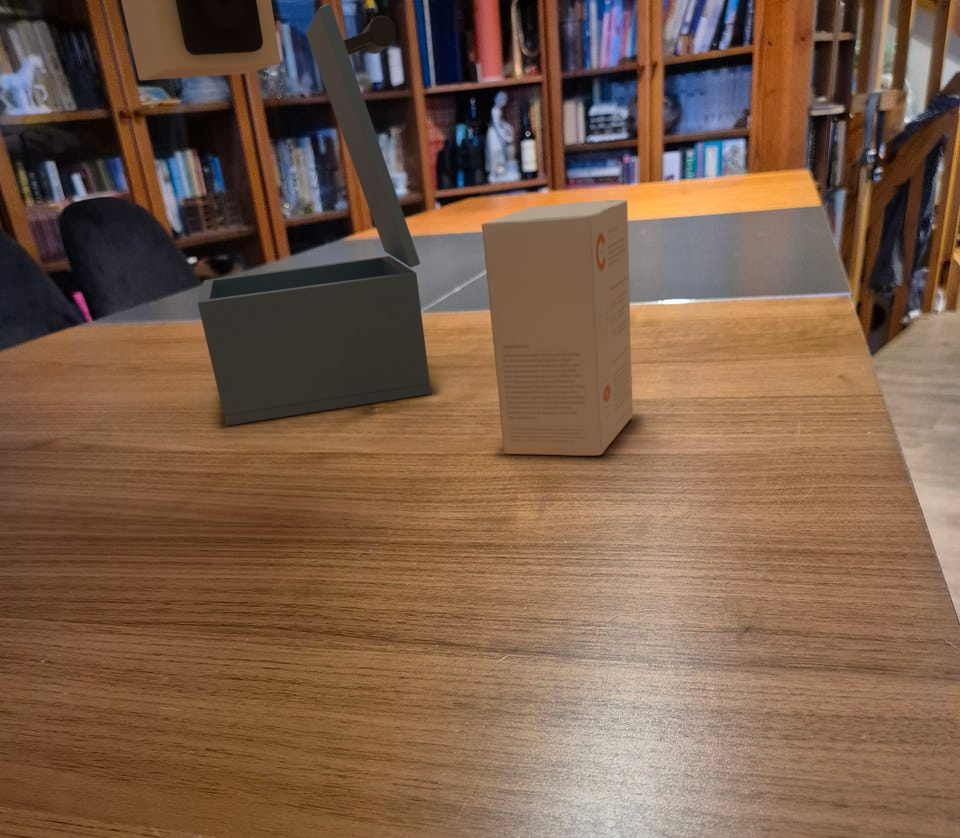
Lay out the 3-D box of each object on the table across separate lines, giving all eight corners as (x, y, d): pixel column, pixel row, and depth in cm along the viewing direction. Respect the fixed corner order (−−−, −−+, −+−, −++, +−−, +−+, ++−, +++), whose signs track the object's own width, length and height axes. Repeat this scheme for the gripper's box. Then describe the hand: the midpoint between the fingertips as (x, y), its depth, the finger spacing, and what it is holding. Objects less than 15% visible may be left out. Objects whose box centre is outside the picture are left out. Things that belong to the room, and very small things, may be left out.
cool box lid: (318, 7, 59) (391, -22, 59) (305, 32, 70) (366, 8, 71) (410, 268, 67) (474, 242, 67) (384, 251, 79) (439, 230, 79)
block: (167, 70, 38) (134, -82, 36) (138, 80, 42) (108, -56, 40) (281, 63, 40) (258, -81, 38) (244, 73, 44) (221, -56, 42)
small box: (542, 416, 63) (527, 205, 56) (634, 417, 60) (630, 197, 54) (500, 455, 56) (478, 221, 50) (602, 457, 54) (592, 212, 48)
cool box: (226, 426, 69) (197, 302, 65) (227, 387, 81) (203, 280, 76) (431, 394, 71) (416, 272, 67) (403, 361, 83) (389, 255, 79)
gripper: (-51, -446, 37) (82, 82, 46) (-1, -792, 24) (171, 40, 33) (138, -416, 40) (228, 73, 49) (273, -707, 27) (364, 32, 36)
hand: (205, 54), depth 41 cm, fingers closed on block, 5 cm apart
